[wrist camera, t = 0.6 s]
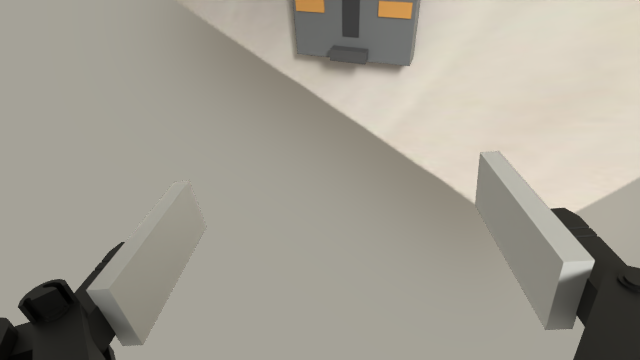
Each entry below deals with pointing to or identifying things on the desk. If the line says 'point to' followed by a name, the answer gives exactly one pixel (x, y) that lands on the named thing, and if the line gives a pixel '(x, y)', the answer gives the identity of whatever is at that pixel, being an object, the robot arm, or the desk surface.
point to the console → (357, 30)
